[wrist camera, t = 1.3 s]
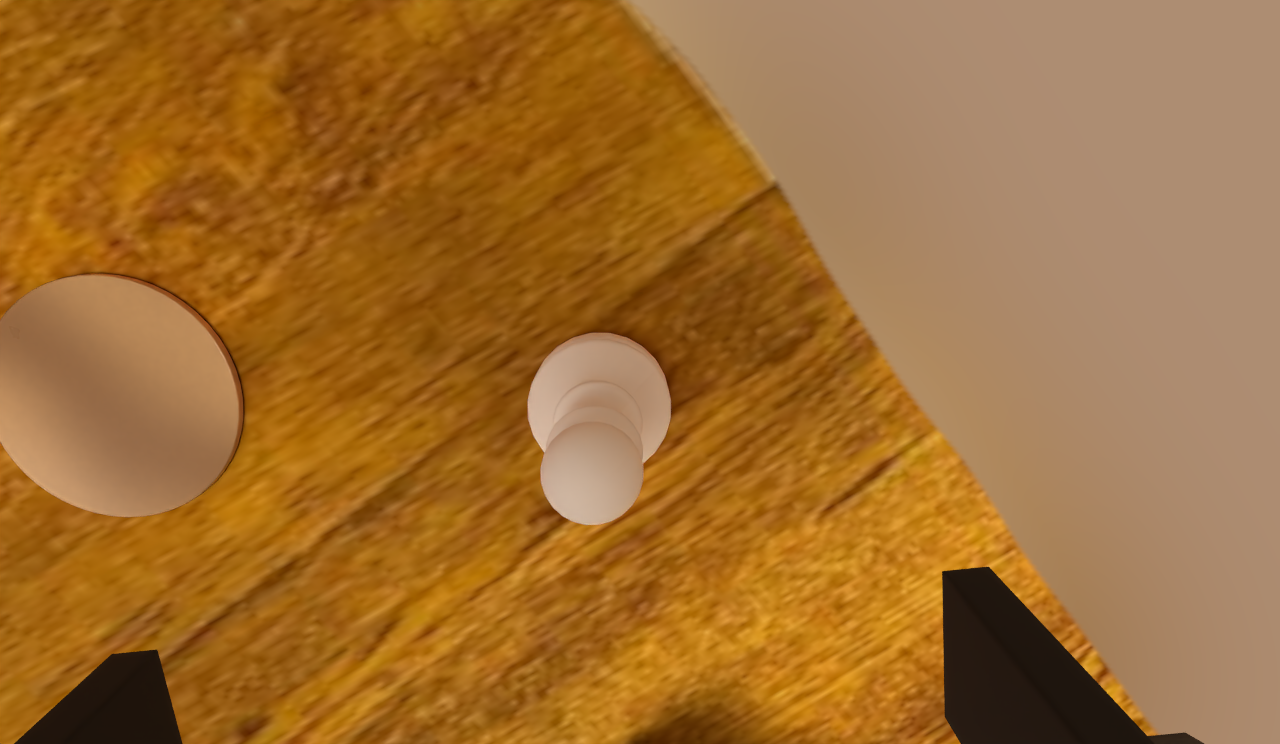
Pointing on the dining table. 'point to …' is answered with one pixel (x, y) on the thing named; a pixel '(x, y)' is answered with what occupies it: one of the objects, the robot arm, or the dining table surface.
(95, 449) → the cork coaster
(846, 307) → the dining table surface
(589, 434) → the chess pawn
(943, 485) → the dining table surface
